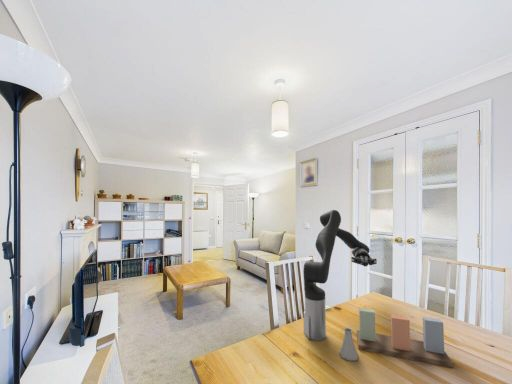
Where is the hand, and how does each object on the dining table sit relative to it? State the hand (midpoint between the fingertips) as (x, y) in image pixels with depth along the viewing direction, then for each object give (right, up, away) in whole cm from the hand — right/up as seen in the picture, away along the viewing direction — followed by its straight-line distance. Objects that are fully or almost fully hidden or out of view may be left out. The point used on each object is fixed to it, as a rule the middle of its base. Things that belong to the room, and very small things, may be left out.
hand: (365, 264), depth 118 cm
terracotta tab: (+4, -27, -22) cm, 35 cm away
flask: (-18, -29, -24) cm, 42 cm away
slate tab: (+16, -27, -24) cm, 40 cm away
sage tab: (-6, -27, -16) cm, 32 cm away
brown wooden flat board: (+5, -29, -20) cm, 36 cm away
